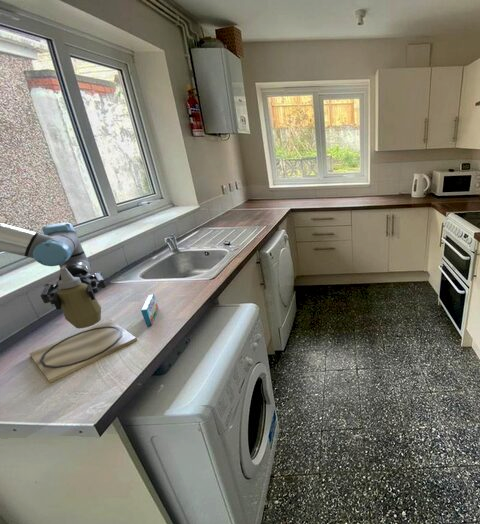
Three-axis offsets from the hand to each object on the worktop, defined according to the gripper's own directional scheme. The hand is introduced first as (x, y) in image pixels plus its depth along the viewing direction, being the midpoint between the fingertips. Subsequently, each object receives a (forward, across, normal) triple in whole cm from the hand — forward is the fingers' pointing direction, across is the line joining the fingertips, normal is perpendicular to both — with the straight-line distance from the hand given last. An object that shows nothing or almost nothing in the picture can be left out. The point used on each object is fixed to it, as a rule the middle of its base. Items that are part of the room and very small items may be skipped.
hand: (74, 300), depth 78 cm
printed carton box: (-9, -15, -17) cm, 25 cm away
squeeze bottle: (-5, 0, -10) cm, 11 cm away
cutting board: (-4, +3, -17) cm, 18 cm away
